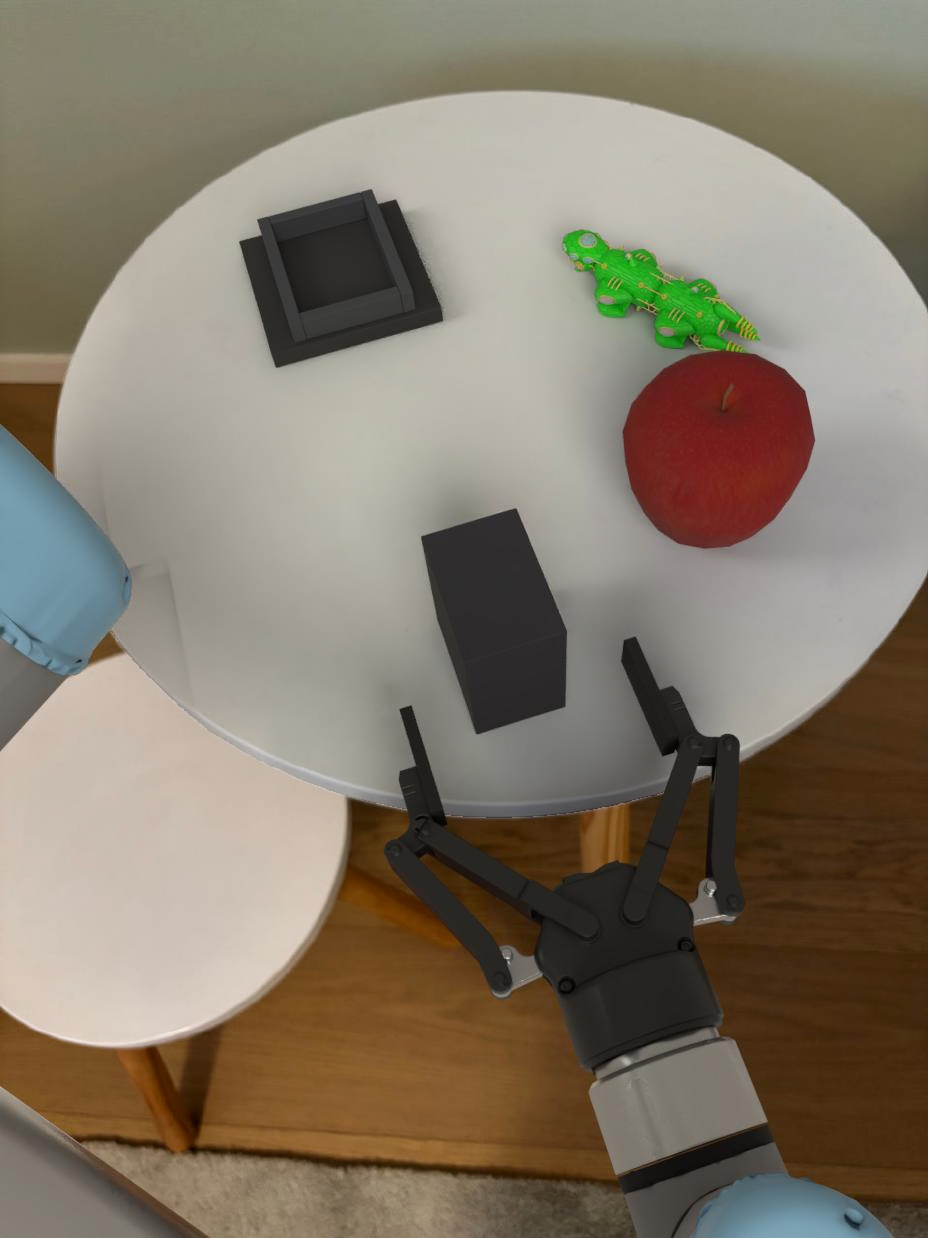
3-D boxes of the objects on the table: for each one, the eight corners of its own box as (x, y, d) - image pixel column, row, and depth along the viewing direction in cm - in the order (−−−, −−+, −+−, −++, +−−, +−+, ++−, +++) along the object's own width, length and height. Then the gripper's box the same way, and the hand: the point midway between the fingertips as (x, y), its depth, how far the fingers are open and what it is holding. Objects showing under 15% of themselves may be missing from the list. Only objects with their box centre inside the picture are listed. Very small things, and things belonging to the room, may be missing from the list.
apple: (727, 425, 76) (757, 285, 65) (823, 539, 71) (876, 408, 59) (585, 490, 74) (590, 358, 63) (673, 613, 69) (697, 493, 57)
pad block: (476, 735, 66) (464, 663, 57) (437, 618, 70) (420, 535, 61) (566, 707, 66) (567, 631, 58) (521, 593, 71) (516, 507, 62)
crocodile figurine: (588, 242, 87) (590, 199, 83) (774, 335, 80) (784, 293, 77) (539, 287, 85) (538, 245, 81) (725, 387, 78) (734, 346, 74)
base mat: (275, 368, 83) (265, 336, 80) (243, 254, 90) (232, 221, 87) (443, 321, 84) (439, 287, 81) (398, 213, 91) (393, 178, 88)
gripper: (419, 1142, 53) (326, 769, 63) (872, 987, 55) (709, 650, 65) (400, 1133, 46) (300, 719, 57) (915, 957, 48) (726, 588, 59)
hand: (518, 681), depth 61 cm, fingers open, 13 cm apart
